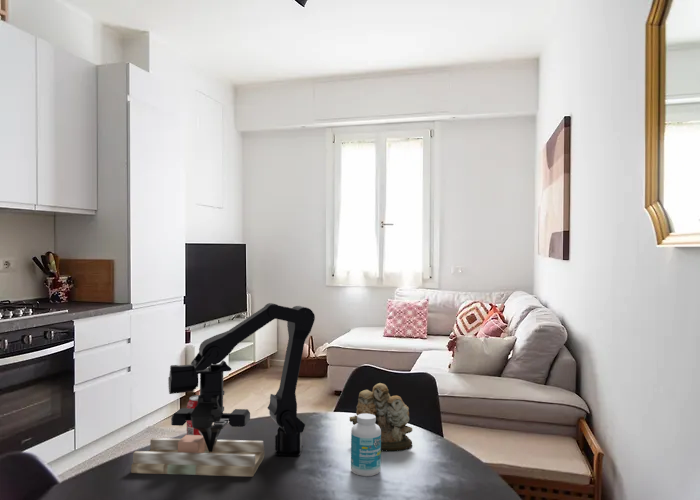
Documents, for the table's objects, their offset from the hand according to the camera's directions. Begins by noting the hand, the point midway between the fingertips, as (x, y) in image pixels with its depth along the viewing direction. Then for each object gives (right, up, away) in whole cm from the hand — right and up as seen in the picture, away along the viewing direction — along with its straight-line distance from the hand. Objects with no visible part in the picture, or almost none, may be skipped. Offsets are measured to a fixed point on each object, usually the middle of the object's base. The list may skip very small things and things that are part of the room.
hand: (211, 451), depth 124 cm
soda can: (-9, -4, +18) cm, 21 cm away
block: (-5, -1, 0) cm, 5 cm away
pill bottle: (+39, -4, -3) cm, 40 cm away
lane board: (-3, -3, 0) cm, 4 cm away
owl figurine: (+44, -4, +15) cm, 47 cm away
